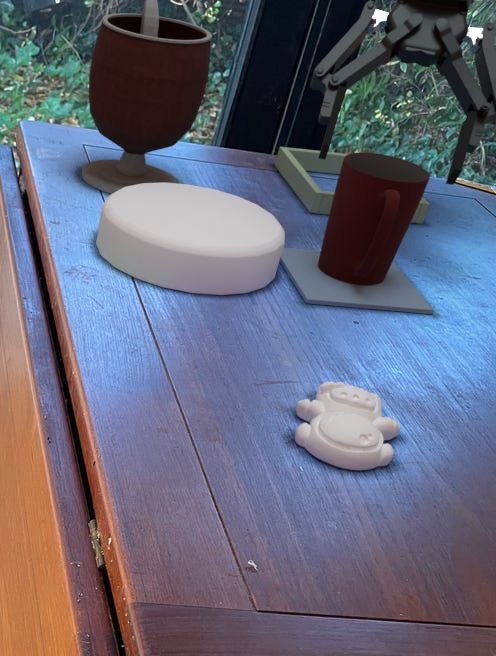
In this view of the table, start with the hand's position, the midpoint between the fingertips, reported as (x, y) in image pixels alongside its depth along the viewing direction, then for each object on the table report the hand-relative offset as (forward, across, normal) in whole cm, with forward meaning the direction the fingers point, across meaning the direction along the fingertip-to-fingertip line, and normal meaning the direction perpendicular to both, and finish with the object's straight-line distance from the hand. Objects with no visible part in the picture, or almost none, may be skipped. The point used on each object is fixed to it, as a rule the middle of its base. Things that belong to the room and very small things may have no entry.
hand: (388, 165), depth 105 cm
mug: (+11, 0, -5) cm, 12 cm away
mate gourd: (-2, +29, -18) cm, 34 cm away
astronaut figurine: (+36, 0, +20) cm, 41 cm away
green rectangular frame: (-11, +2, -27) cm, 29 cm away
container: (+13, +18, -3) cm, 23 cm away
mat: (+11, 0, -5) cm, 12 cm away
